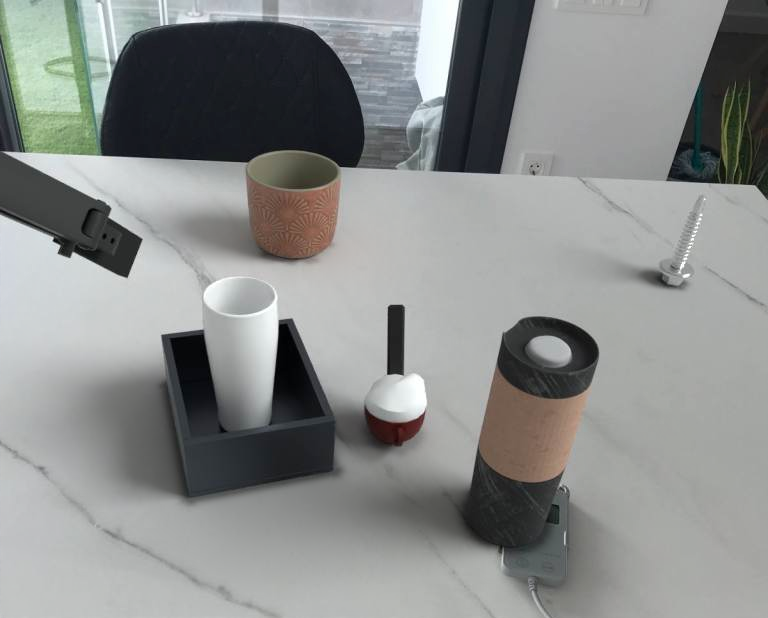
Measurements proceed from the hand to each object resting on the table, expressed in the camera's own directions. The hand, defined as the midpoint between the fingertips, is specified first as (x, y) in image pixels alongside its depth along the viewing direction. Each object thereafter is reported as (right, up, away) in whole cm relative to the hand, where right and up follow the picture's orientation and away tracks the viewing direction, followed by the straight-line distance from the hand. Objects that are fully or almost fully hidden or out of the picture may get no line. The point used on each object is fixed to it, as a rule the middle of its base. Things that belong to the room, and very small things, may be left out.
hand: (46, 229), depth 51 cm
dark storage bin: (+8, -14, +27) cm, 32 cm away
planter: (+10, +9, +56) cm, 58 cm away
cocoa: (+23, -15, +29) cm, 40 cm away
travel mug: (+34, -23, +21) cm, 45 cm away
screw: (+62, +4, +57) cm, 84 cm away
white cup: (+8, -14, +27) cm, 32 cm away
